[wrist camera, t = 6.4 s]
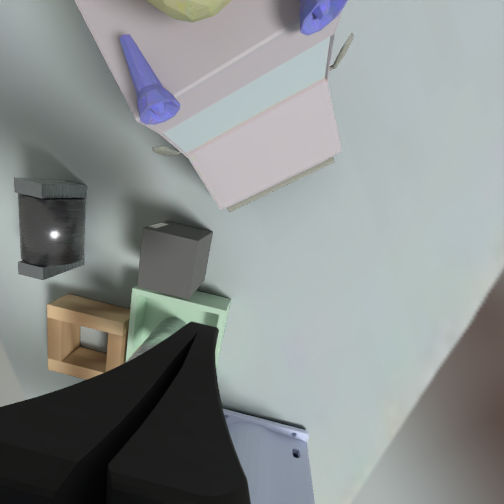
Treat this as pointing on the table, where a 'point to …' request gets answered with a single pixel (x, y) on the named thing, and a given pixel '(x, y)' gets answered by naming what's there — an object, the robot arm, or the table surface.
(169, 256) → the block
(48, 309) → the socket block
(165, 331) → the pin
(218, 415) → the robot arm
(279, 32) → the toy vehicle
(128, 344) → the tray
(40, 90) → the table surface
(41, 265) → the trolley wheel
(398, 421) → the table surface
